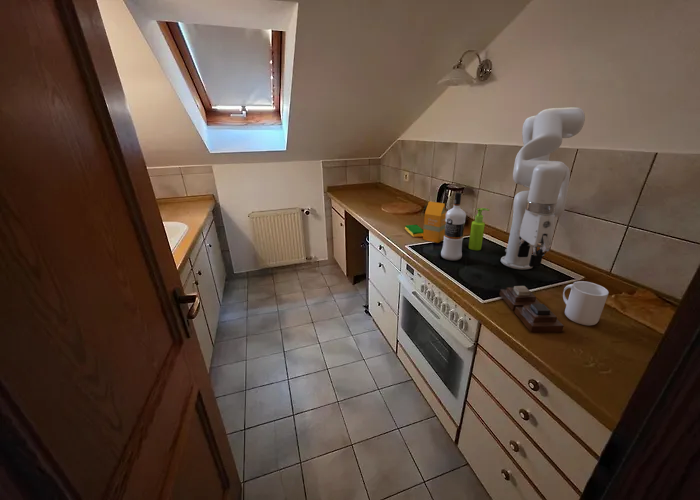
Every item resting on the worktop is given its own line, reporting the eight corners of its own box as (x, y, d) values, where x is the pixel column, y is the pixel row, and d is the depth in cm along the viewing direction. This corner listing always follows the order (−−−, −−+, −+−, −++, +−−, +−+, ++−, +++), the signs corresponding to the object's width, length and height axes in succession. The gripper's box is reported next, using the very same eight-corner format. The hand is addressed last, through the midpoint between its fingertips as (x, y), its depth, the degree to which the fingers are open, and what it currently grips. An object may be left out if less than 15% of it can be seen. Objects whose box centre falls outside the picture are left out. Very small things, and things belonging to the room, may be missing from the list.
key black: (530, 308, 92) (531, 304, 92) (542, 308, 92) (543, 303, 92) (536, 315, 89) (538, 310, 88) (549, 315, 89) (550, 310, 88)
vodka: (466, 258, 135) (474, 193, 124) (450, 262, 132) (457, 195, 120) (451, 251, 143) (458, 189, 131) (436, 255, 140) (442, 191, 128)
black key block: (514, 312, 97) (516, 302, 95) (542, 312, 96) (545, 301, 95) (531, 332, 88) (533, 321, 86) (562, 331, 87) (565, 320, 86)
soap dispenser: (485, 250, 143) (491, 210, 135) (470, 250, 144) (475, 210, 136) (480, 245, 149) (486, 206, 141) (466, 245, 149) (471, 206, 141)
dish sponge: (416, 228, 176) (416, 224, 175) (425, 236, 163) (425, 232, 163) (404, 229, 175) (405, 225, 174) (413, 237, 162) (413, 233, 162)
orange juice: (429, 235, 164) (432, 199, 157) (444, 238, 159) (448, 202, 151) (422, 239, 159) (425, 202, 151) (438, 243, 154) (441, 205, 146)
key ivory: (513, 290, 102) (513, 286, 102) (523, 290, 102) (524, 285, 102) (518, 296, 99) (519, 291, 98) (529, 295, 99) (530, 291, 98)
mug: (570, 302, 101) (579, 274, 97) (605, 324, 90) (616, 293, 86) (548, 306, 99) (556, 277, 95) (581, 328, 88) (591, 297, 84)
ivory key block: (499, 294, 107) (501, 284, 105) (524, 294, 107) (526, 284, 105) (512, 310, 98) (515, 300, 96) (540, 310, 97) (543, 299, 96)
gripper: (572, 215, 81) (556, 273, 88) (536, 200, 97) (525, 250, 104) (544, 215, 81) (531, 274, 88) (513, 200, 97) (504, 251, 104)
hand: (528, 260), depth 96 cm, fingers open, 6 cm apart
